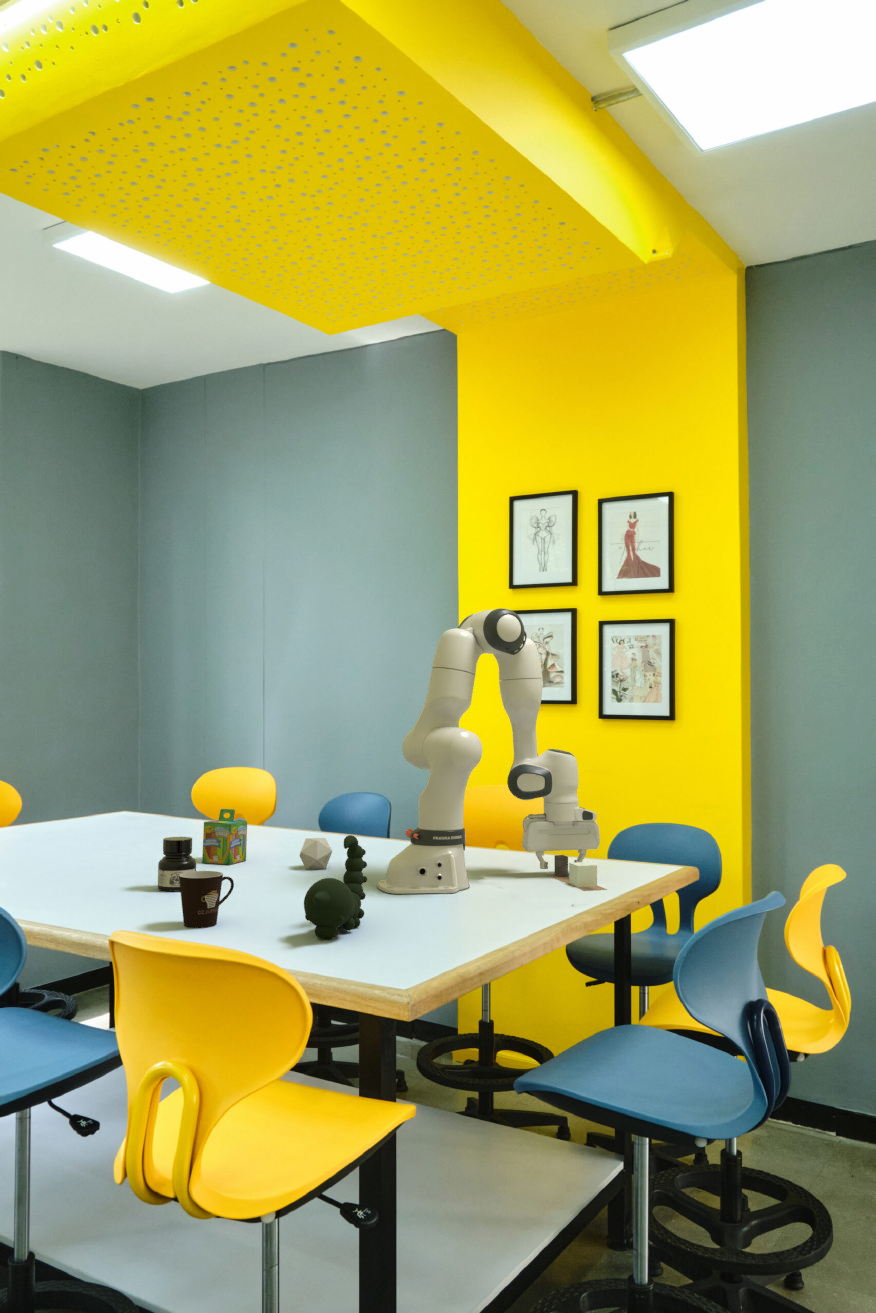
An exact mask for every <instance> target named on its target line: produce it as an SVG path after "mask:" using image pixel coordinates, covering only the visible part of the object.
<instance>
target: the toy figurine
mask: <svg viewBox="0 0 876 1313" xmlns="http://www.w3.org/2000/svg"><path fill="white" fill-rule="evenodd" d="M343 849H345V850H347V851H346V856H347V858H346V860H345V862H344V866H345V872H344V874H343V877H342V881H341V880H339V879H337V878H335V877H334V878H332V877H325V878H322V879H319V880H317V881H316V882H314V883H313V884H311V886H310V887H309V889H308V890H307V892H306V893H305V896H304V900H303V908H304V914H305V915H304V918H305V920H306V921H309V922H310V923H311V924H313V925H314V926H315V927H314V931H313V932H314V935H315V936H316V937H317V938H319V939H321V940H333V939H334V938H335V937H336V935H337V933H338V929H337V928H340V927H342V929H344V930H345V931H346V932H349V931H352V930H353V929H354V928H356V929H357V928H358V927H360V926H361V919H362V918H364V916H365V910H364V909H363V908H362V900H365V898H366V895H367V894H366V893H365V892H364V888H363V886H362V885H363V884H365V883H366V882H368V877H367V876H366V875H364V873H363V872H362V871H363V870H364V869H366V868H367V866H368V864H367V862H366V861H365V860H364V859H363V858H364V856H365V855H366V854H367V850H365V849H364V848H363V847H362V846H361V845H359V840H358V839H357V837H356V836H354V835H351V834H350V835H346V836H345V837H344V839H343Z"/></svg>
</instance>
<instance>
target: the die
mask: <svg viewBox="0 0 876 1313" xmlns="http://www.w3.org/2000/svg"><path fill="white" fill-rule="evenodd" d="M332 854H333V849H332V847H331V846H330V844H329V842H328V840H327V838H326V837H307V838H305V840H304V842H303V845H302V848H301V850H300V853H299V858H300V860H301V861H302V864H303V866H304V868H305V870H327V866H328V864H329V861H330V858H331V855H332Z"/></svg>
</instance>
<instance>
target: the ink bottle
mask: <svg viewBox="0 0 876 1313" xmlns="http://www.w3.org/2000/svg"><path fill="white" fill-rule="evenodd" d="M192 853H193V837H189V836H170V837H168V836H167V837H163V840H162V855H164V856H163V857H162V858H161V859H160V860H159V861H158V866H157V868H158V869H157V889H158V890H160V891H162V892H181V891H180V881H179V875H180V874H182V873H186V872H193V871H197V861H196V859H195V858H193V855H191V854H192Z"/></svg>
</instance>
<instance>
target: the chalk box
mask: <svg viewBox="0 0 876 1313" xmlns="http://www.w3.org/2000/svg"><path fill="white" fill-rule="evenodd" d="M235 813H236V810H235V809H234V808H221V809H220V811H219V815H218V816H219V817H218V819H213V820H209V821H204V822H203V833H202V834H203V836H202V838H203V839H202V840H203V841H202V856H201V857H202V858H201V863H202V864H213V865H221V866H231V865H235V864H237V863H241V862H246V861H247V841H248V821H247V820H241V819H235ZM225 814H229V817H224V815H225Z"/></svg>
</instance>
